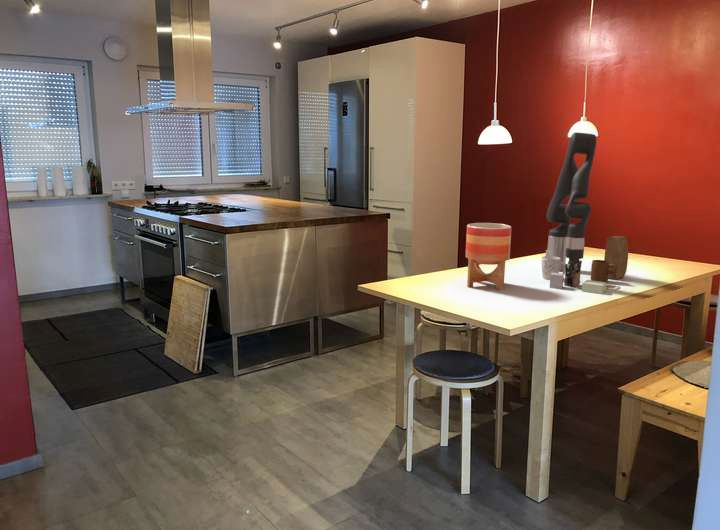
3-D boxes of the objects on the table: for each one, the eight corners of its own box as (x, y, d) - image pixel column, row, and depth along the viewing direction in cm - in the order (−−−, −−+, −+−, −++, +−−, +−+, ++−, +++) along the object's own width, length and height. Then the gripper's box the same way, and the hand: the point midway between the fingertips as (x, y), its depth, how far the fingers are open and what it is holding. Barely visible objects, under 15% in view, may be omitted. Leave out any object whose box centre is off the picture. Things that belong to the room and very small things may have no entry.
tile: (598, 287, 255) (598, 285, 255) (603, 285, 260) (603, 283, 260) (614, 290, 251) (615, 288, 251) (619, 287, 256) (620, 285, 256)
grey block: (549, 287, 255) (550, 274, 253) (551, 285, 259) (552, 272, 258) (561, 289, 253) (562, 275, 251) (562, 286, 257) (563, 273, 256)
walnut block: (564, 285, 259) (565, 272, 258) (568, 283, 263) (569, 270, 262) (575, 287, 256) (576, 274, 255) (579, 285, 260) (580, 272, 258)
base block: (581, 292, 248) (582, 283, 248) (586, 288, 255) (587, 279, 254) (601, 294, 244) (602, 285, 243) (605, 291, 250) (606, 282, 250)
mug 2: (620, 283, 265) (622, 263, 264) (611, 285, 261) (613, 264, 259) (595, 278, 275) (597, 259, 273) (587, 280, 270) (588, 260, 268)
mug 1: (566, 278, 274) (568, 257, 272) (564, 281, 267) (566, 260, 265) (541, 275, 279) (543, 255, 277) (539, 279, 271) (540, 258, 270)
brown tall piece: (614, 280, 271) (618, 238, 267) (600, 277, 277) (604, 236, 273) (628, 278, 277) (632, 236, 273) (614, 275, 283) (618, 234, 279)
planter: (482, 292, 245) (486, 229, 240) (454, 282, 262) (456, 223, 257) (518, 287, 254) (522, 227, 249) (488, 278, 271) (491, 221, 266)
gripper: (572, 244, 264) (569, 280, 267) (560, 248, 253) (557, 286, 256) (589, 246, 259) (586, 283, 262) (577, 250, 248) (574, 288, 251)
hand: (571, 284), depth 259 cm, fingers closed on walnut block, 5 cm apart
